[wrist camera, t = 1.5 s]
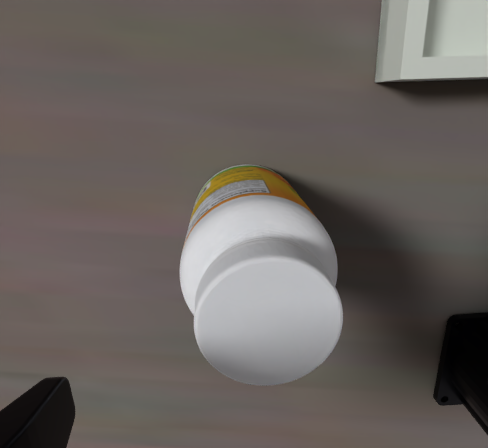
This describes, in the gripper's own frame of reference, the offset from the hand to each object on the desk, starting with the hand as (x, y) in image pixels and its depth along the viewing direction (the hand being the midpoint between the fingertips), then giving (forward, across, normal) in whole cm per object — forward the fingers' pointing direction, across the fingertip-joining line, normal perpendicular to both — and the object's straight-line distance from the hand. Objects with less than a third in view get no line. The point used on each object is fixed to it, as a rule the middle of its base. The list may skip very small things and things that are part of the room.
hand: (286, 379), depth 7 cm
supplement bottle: (+12, 0, 0) cm, 12 cm away
